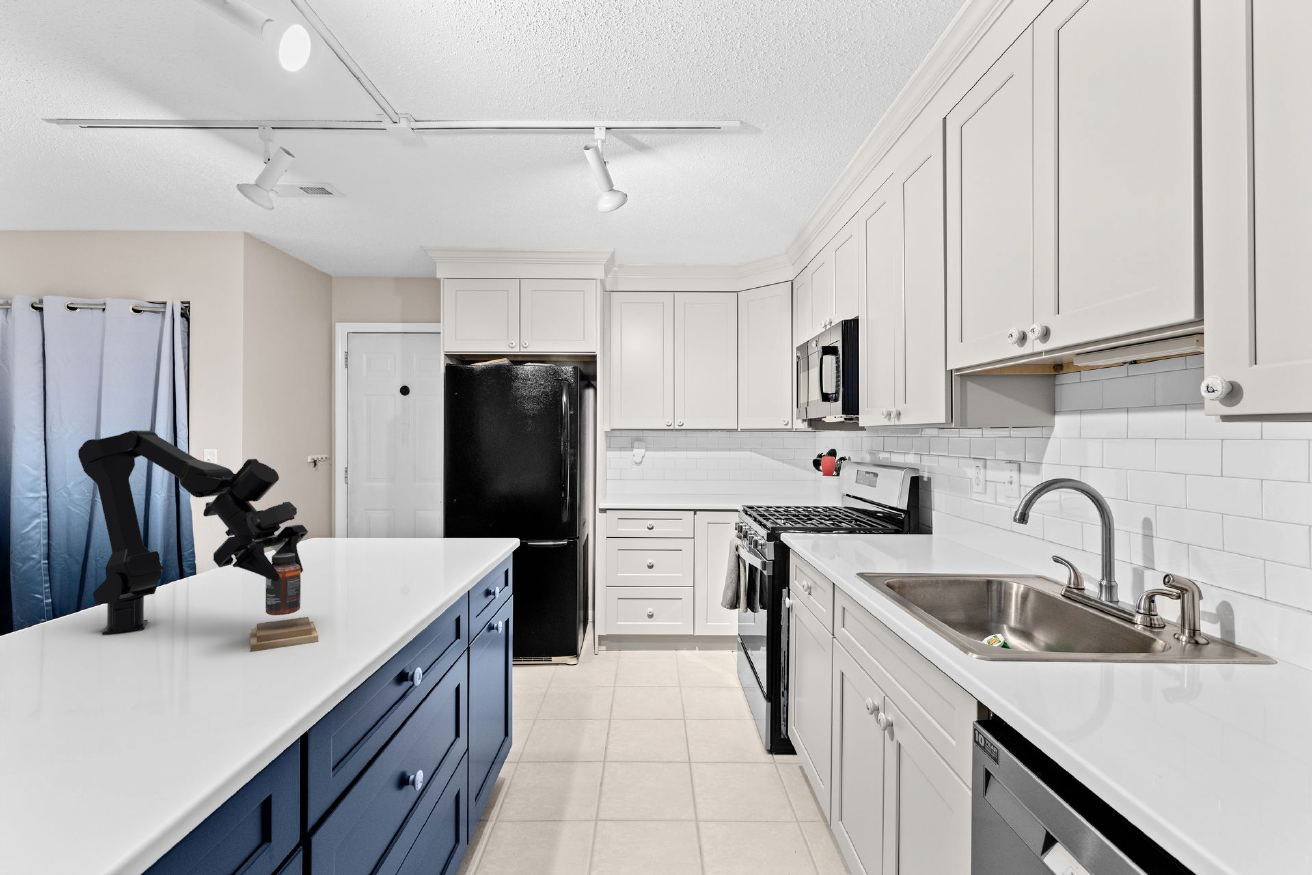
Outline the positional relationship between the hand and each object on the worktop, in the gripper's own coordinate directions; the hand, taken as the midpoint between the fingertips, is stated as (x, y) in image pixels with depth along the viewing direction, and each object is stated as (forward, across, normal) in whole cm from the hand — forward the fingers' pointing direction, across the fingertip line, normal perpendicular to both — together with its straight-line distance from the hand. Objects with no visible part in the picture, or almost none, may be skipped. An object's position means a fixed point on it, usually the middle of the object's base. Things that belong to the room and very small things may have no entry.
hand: (289, 575), depth 123 cm
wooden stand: (+8, 0, +10) cm, 12 cm away
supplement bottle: (+4, 0, +6) cm, 8 cm away
